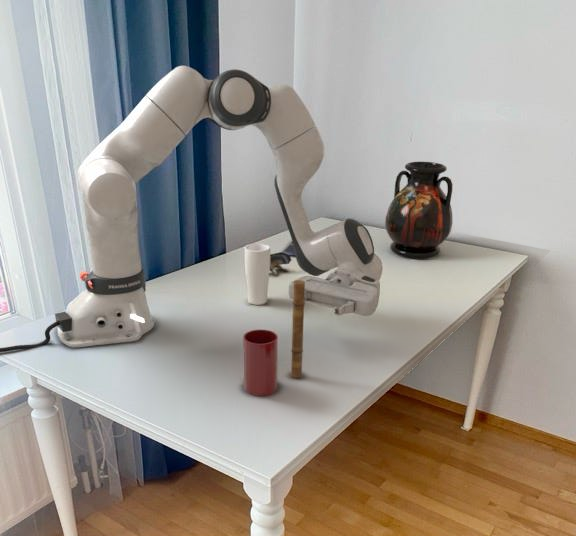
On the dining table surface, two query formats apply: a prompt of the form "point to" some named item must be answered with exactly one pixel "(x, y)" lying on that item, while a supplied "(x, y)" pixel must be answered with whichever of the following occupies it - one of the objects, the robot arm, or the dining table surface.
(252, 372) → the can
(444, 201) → the amphora vase
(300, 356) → the tan rod with ring
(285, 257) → the eagle figurine
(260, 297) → the drinking glass
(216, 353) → the dining table surface
